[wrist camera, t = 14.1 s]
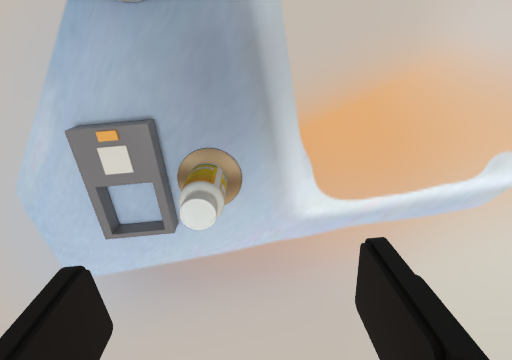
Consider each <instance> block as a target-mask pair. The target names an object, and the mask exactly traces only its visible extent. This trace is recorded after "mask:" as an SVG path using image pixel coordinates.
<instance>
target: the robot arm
mask: <svg viewBox="0 0 512 360" xmlns="http://www.w3.org/2000/svg"><path fill="white" fill-rule="evenodd" d="M116 1H122V2H139V1H143V0H116ZM355 303H356V308H357V311H358V313H359V315H360V317H361V320H362V322H363V324H364V326H365V328H366V330H367V332H368V335H369V337H370V339H371V341H372V343H373V346H374V348H375V350H376V352H377V354H378V357H379V359H380V360H489V359H488V357H487V356H486V355H485V354H484V353H483V351H482V350H481V349H480V348H479V347H478V345H477V344H476V343H475V342H474V340H473V339H472V338H471V337H470V335H469V334H468V333H467V332H466V331H465V329H464V328H463V327H462V326H461V325H460V323H459V322H458V321H457V320H456V318H455V317H454V316H453V315H452V314H451V313H450V311H449V310H448V309H447V308H446V307H445V305H444V304H443V303H442V301H441V300H440V299H439V298H438V297H437V295H436V294H435V293H434V292H433V291H432V289H431V288H430V287H429V286H428V285H427V283H426V282H425V281H424V280H423V279H422V278H421V277H420V276H418V275H415V274H414V272H413V271H412V270H411V269H410V268H409V266H408V265H407V264H406V263H405V261H404V260H403V259H402V258H401V256H400V255H399V254H398V253H397V251H396V250H395V249H394V248H393V246H392V245H391V244H390V243H389V241H388V240H387V239H386V238H384V237H379V238H368V239H366V241H365V243H362V244H361V246H360V256H359V266H358V276H357V286H356V296H355ZM112 330H113V324H112V321H111V319H110V316H109V314H108V311H107V309H106V307H105V305H104V303H103V300H102V298H101V295H100V293H99V291H98V289H97V286H96V284H95V282H94V279H93V277H92V275H91V273H90V271H89V270H86V269H85V267H83V266H73V267H64V268H61V269H60V270H59V271H58V272H57V273H56V275H55V276H54V277H53V278H52V279H51V280H50V282H49V283H48V284H47V285H46V286H45V287H44V288H43V290H42V291H41V292H40V293H39V294H38V295H37V296H36V298H35V299H34V300H33V301H32V302H31V303H30V305H29V306H28V307H27V308H26V309H25V310H24V312H23V313H22V314H21V315H20V316H19V317H18V319H16V321H15V322H14V323H13V324H12V325H11V327H10V328H9V329H8V330H7V331H6V332H5V333H4V334H3V336H2V337H1V338H0V360H100V357H101V355H102V353H103V351H104V349H105V347H106V345H107V342H108V341H109V339H110V337H111V334H112Z"/></svg>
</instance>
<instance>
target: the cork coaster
mask: <svg viewBox="0 0 512 360" xmlns="http://www.w3.org/2000/svg"><path fill="white" fill-rule="evenodd" d="M202 163H211V164H215V165H217V166H219V167H220V168H221V169H222V170H223V171H224V172H225V174H226V177H227V188H226V196H225V203H224V205H226V204H228V203H229V202H231V201H232V200H233V199H234V198H235V197H236V196H237V194H238V193H239V190H240V188H241V183H242V175H241V171H240V168H239V166H238V164H237V163H236V161H235V160H234V159H233V158H232V157H231V156H230V155H228V154H227V153H225V152H223V151H221V150H218V149H212V148H205V149H200V150H196V151H194V152H192V153H191V154H189V155H188V156H187V157H186V158H185V159H184V160H183V162H182V163H181V165H180V167H179V170H178V175H177V179H178V185H179V188H180V190H181V191H182V189H183V187H184V184H185V182H186V180H187V178H188V176H189V174H190V172H191V170H192V169H193V168H194V167H195V166H197V165H199V164H202Z"/></svg>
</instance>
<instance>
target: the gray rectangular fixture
mask: <svg viewBox="0 0 512 360" xmlns="http://www.w3.org/2000/svg"><path fill="white" fill-rule="evenodd" d="M65 134H66V137H67V139H68V142H69V144H70V147H71V150H72V152H73V155H74V158H75V160H76V163H77V165H78V168H79V171H80V173H81V176H82V179H83V181H84V184H85V186H86V189H87V192H88V194H89V197H90V200H91V202H92V205H93V207H94V210H95V213H96V215H97V218H98V221H99V223H100V226H101V228H102V231H103V234H104V236H105V239H115V238H126V237H136V236H147V235H158V234H168V233H175V230H176V228H177V225H178V220H177V216H176V212H175V208H174V203H173V199H172V195H171V191H170V186H169V182H168V178H167V174H166V170H165V165H164V161H163V157H162V153H161V148H160V144H159V140H158V136H157V132H156V127H155V123H154V119H152V120H141V121H130V122H119V123H107V124H96V125H85V126H76V127H73V128H71V129H68V130H66V131H65ZM148 182H153V185H154V189H155V193H156V197H157V201H158V204H159V208H160V212H161V216H162V219H163V221H156V222H145V223H135V224H124V225H120V224H119V221H118V218H117V215H116V213H115V210H114V207H113V204H112V201H111V198H110V195H109V192H108V189H107V186H116V185H126V184H137V183H148Z"/></svg>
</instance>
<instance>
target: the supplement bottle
mask: <svg viewBox="0 0 512 360" xmlns="http://www.w3.org/2000/svg"><path fill="white" fill-rule="evenodd" d="M226 188H227V177H226V174H225V172H224V171H223V170H222V169H221V168H220V167H219V166H217V165H215V164H211V163H202V164H199V165H197V166H195V167H194V168H193V169H192V170H191V172H190V174H189V176H188V178H187V180H186V182H185V184H184V187H183V189H182V191H181V193H180V196H179V206H180V218H181V221H182V222H183V223H184V224H185V225H186V226H187V227H189V228H191V229H194V230H203V229H207V228H209V227H210V226H211V225H212V224H213V223H214V222H215V220H216V218H217V217H218V216H219V215H220V214H221V212H222V210H223V208H224V203H225V196H226Z"/></svg>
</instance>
